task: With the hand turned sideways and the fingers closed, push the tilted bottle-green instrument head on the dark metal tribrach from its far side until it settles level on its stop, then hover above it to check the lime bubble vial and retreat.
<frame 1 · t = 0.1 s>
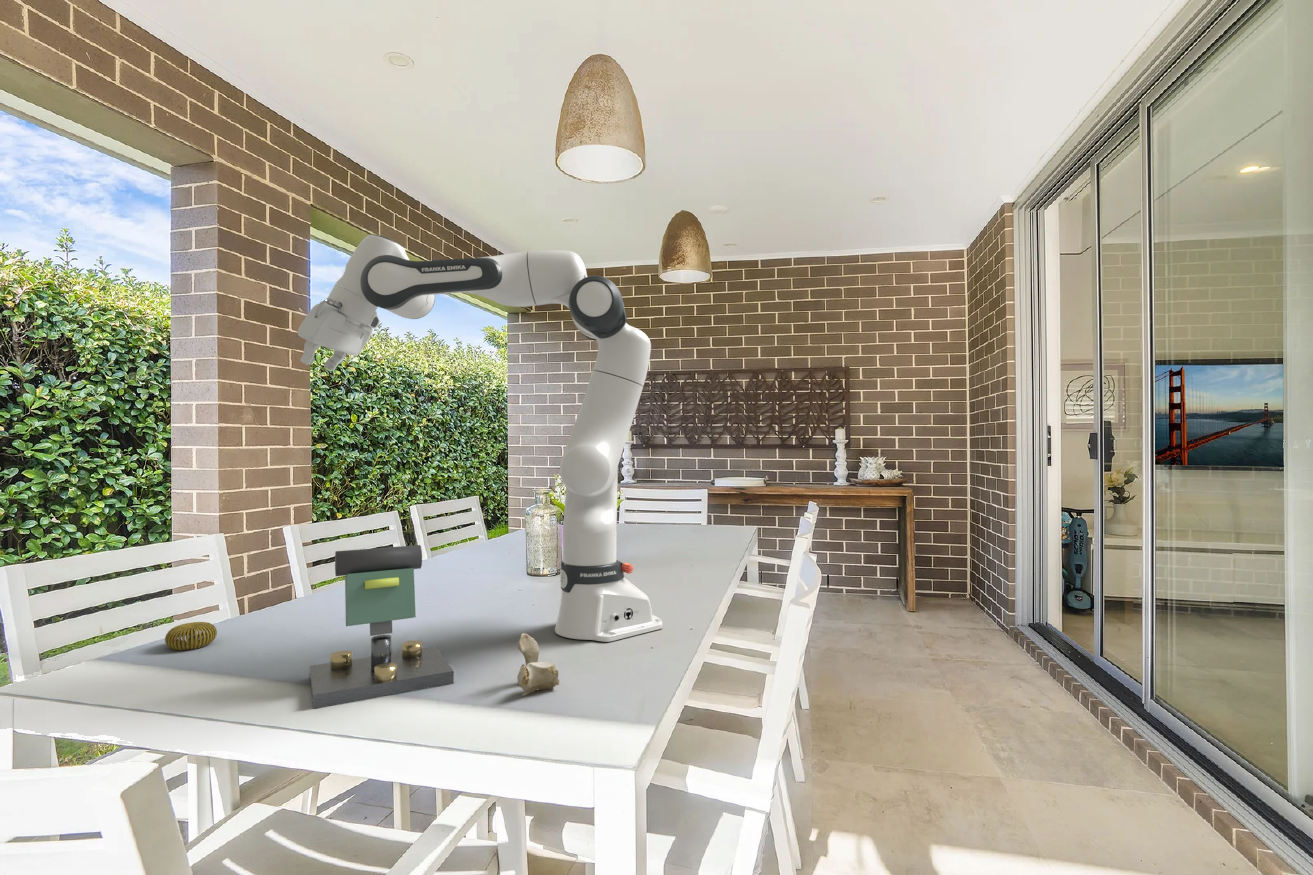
hand: (317, 366, 132), 54 cm above the table, tool tilted 30°, fingers open, 8 cm apart
bone: (538, 690, 101), on the table
instrument head: (380, 590, 106), point 14 cm above the table, hinge at 15.0°
sculpture: (191, 647, 122), on the table
tribrach: (380, 680, 105), on the table
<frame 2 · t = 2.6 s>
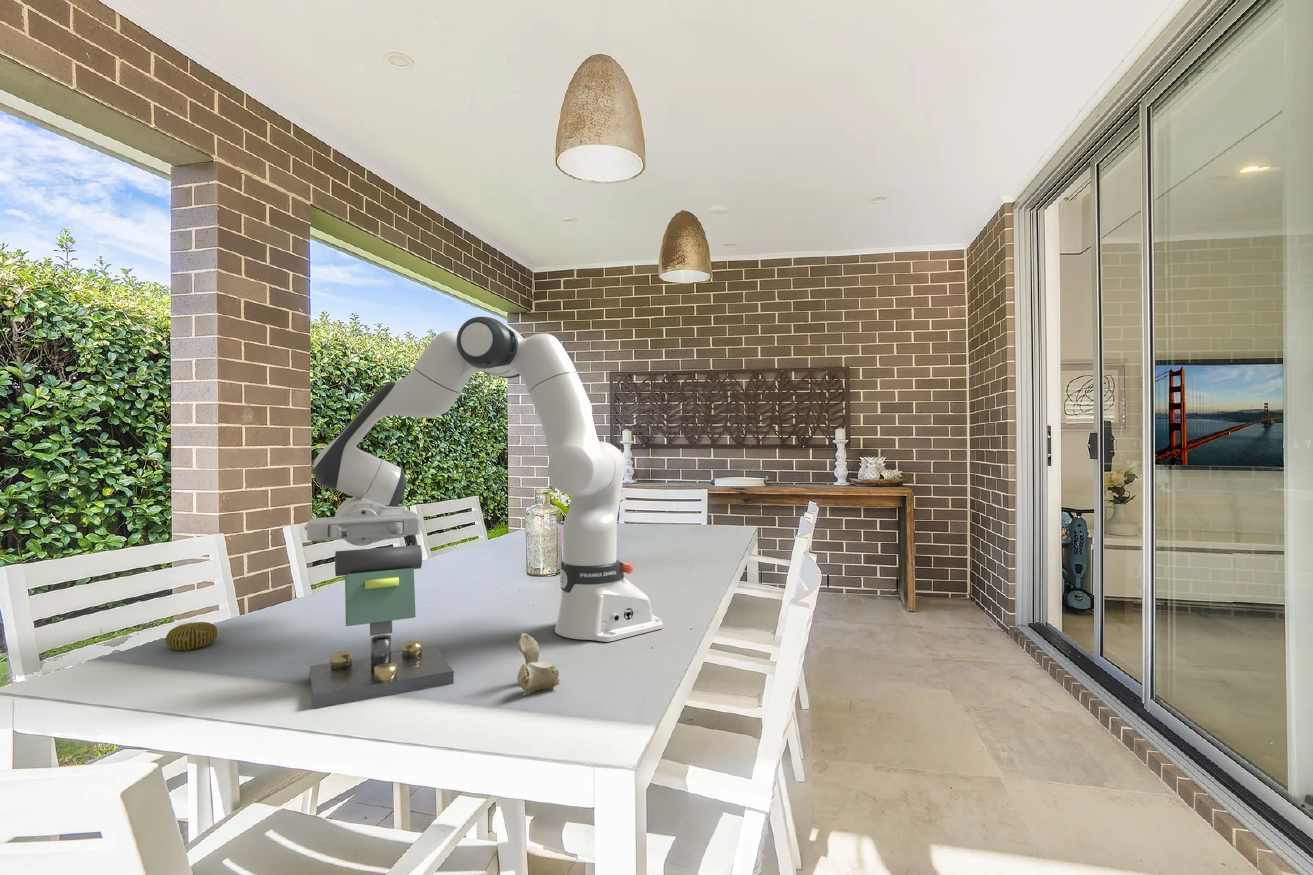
hand: (369, 531, 120), 22 cm above the table, tool horizontal, fingers open, 8 cm apart
nothing on the table moved.
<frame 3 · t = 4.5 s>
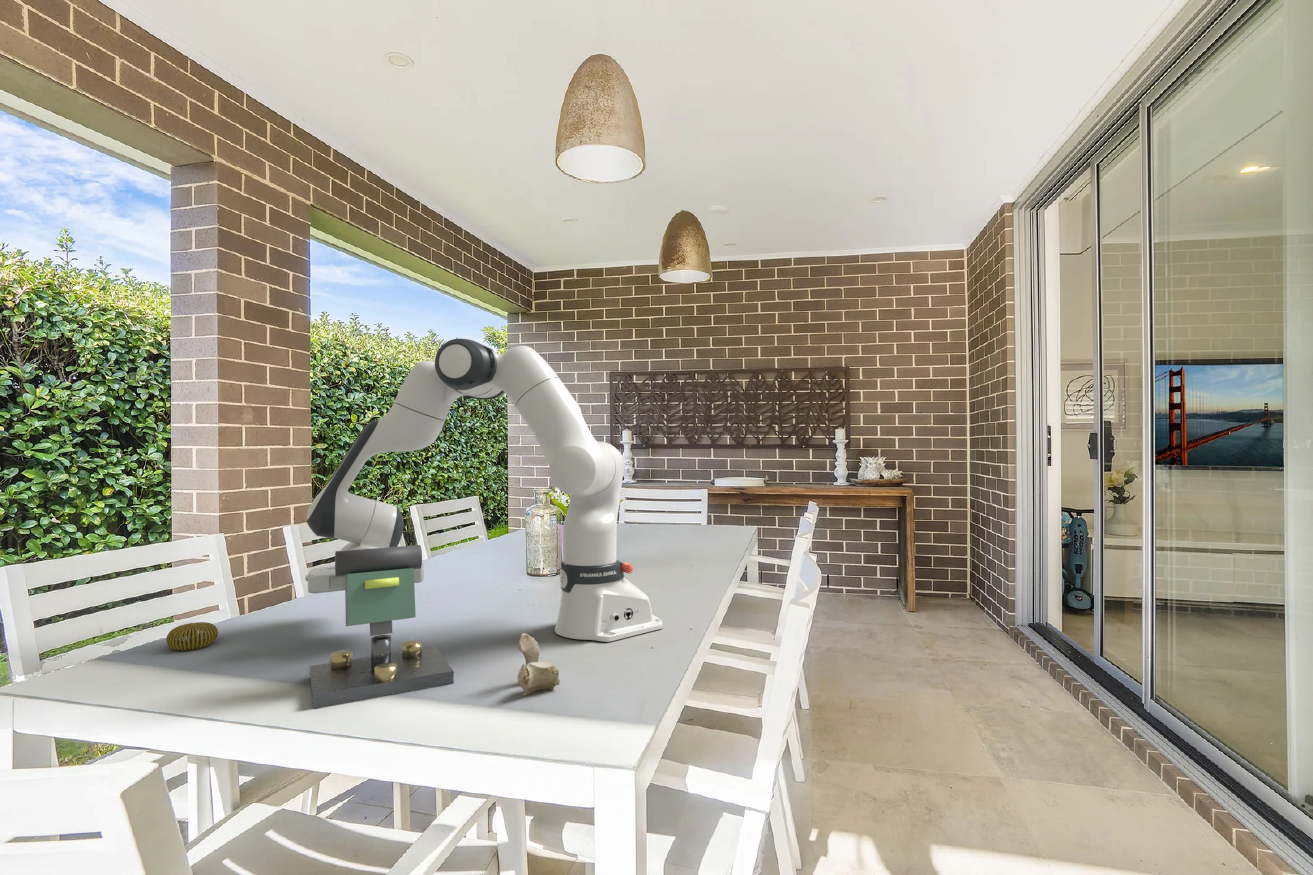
hand: (371, 583, 117), 13 cm above the table, tool horizontal, fingers closed
nothing on the table moved.
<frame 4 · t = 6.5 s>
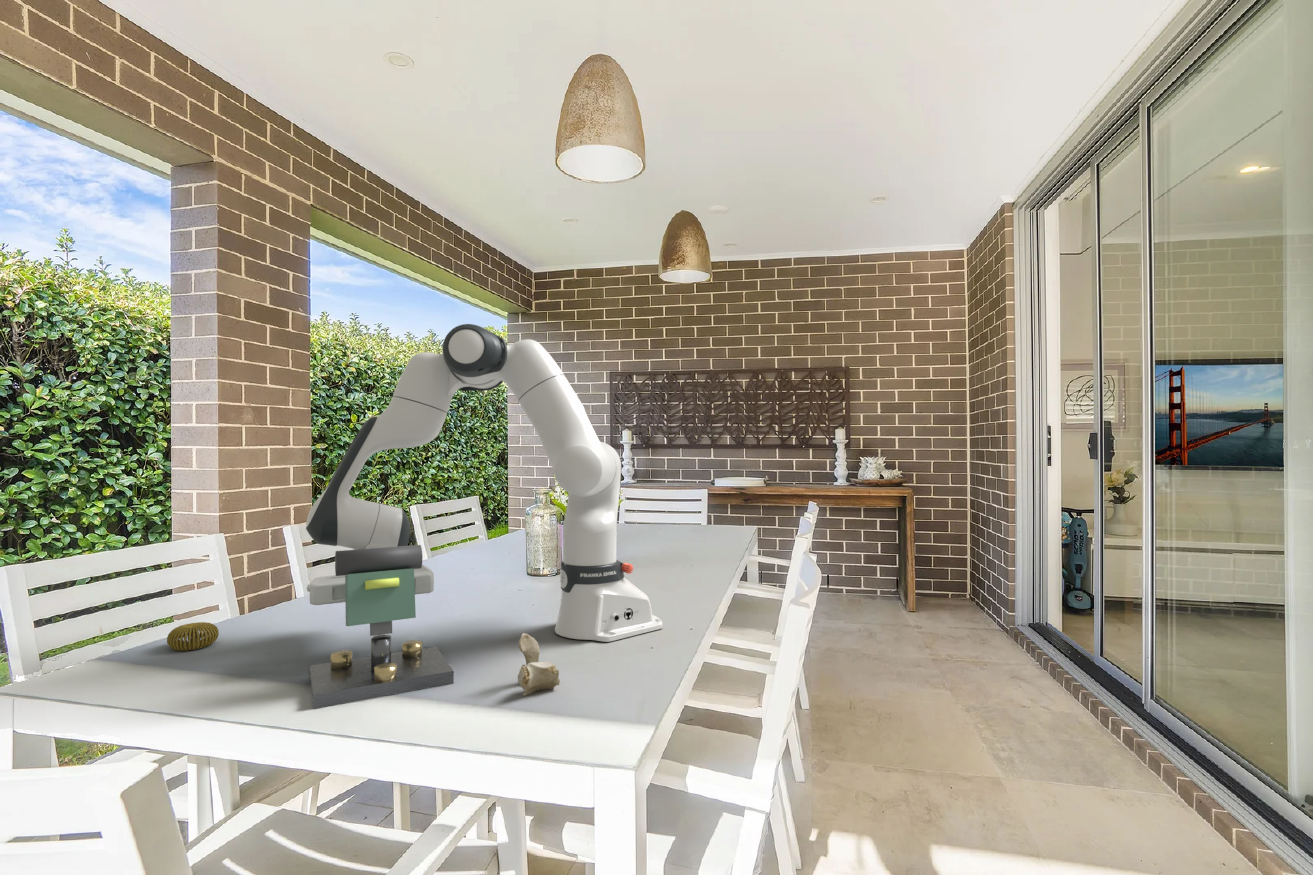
hand: (378, 594, 108), 13 cm above the table, tool horizontal, fingers closed, pressing on instrument head
instrument head: (380, 590, 106), point 14 cm above the table, hinge at 13.6°, touching gripper
everything else where it was.
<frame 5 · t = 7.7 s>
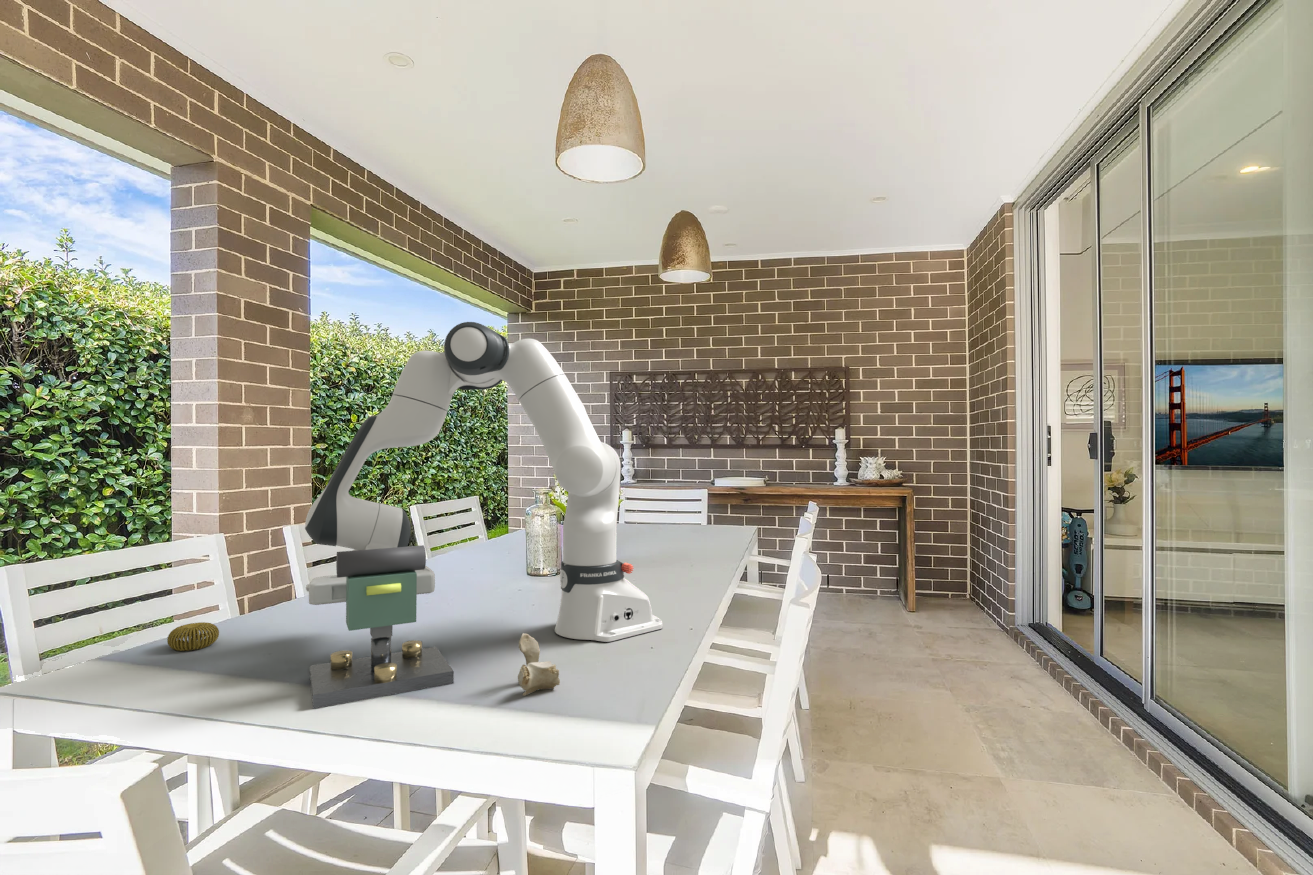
hand: (378, 594, 107), 14 cm above the table, tool horizontal, fingers closed, pressing on instrument head
instrument head: (381, 592, 104), point 14 cm above the table, hinge at -1.1°, touching gripper
everything else where it was.
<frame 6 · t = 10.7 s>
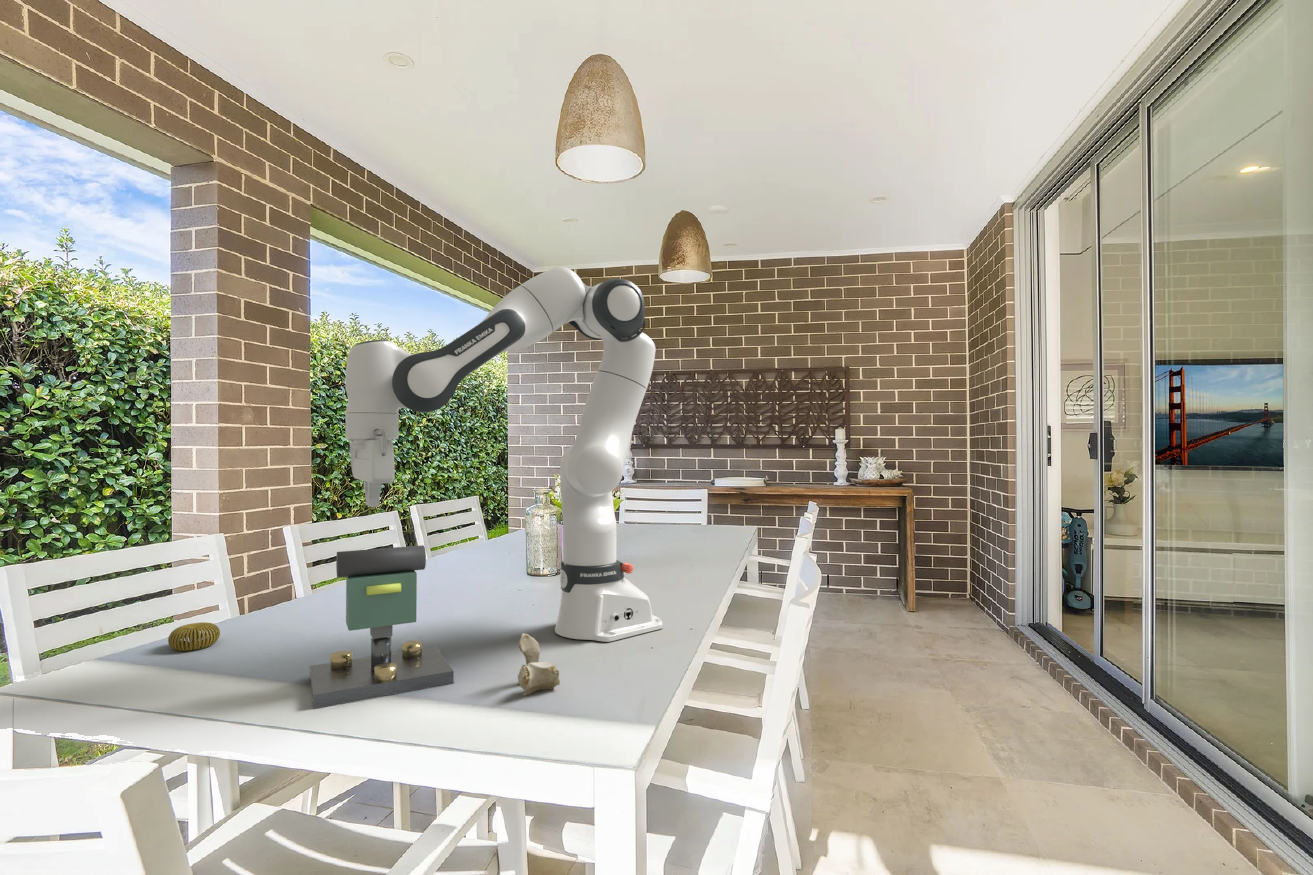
hand: (372, 506, 116), 27 cm above the table, tool pointing down, fingers closed
instrument head: (381, 592, 104), point 14 cm above the table, hinge at -1.1°
everything else where it was.
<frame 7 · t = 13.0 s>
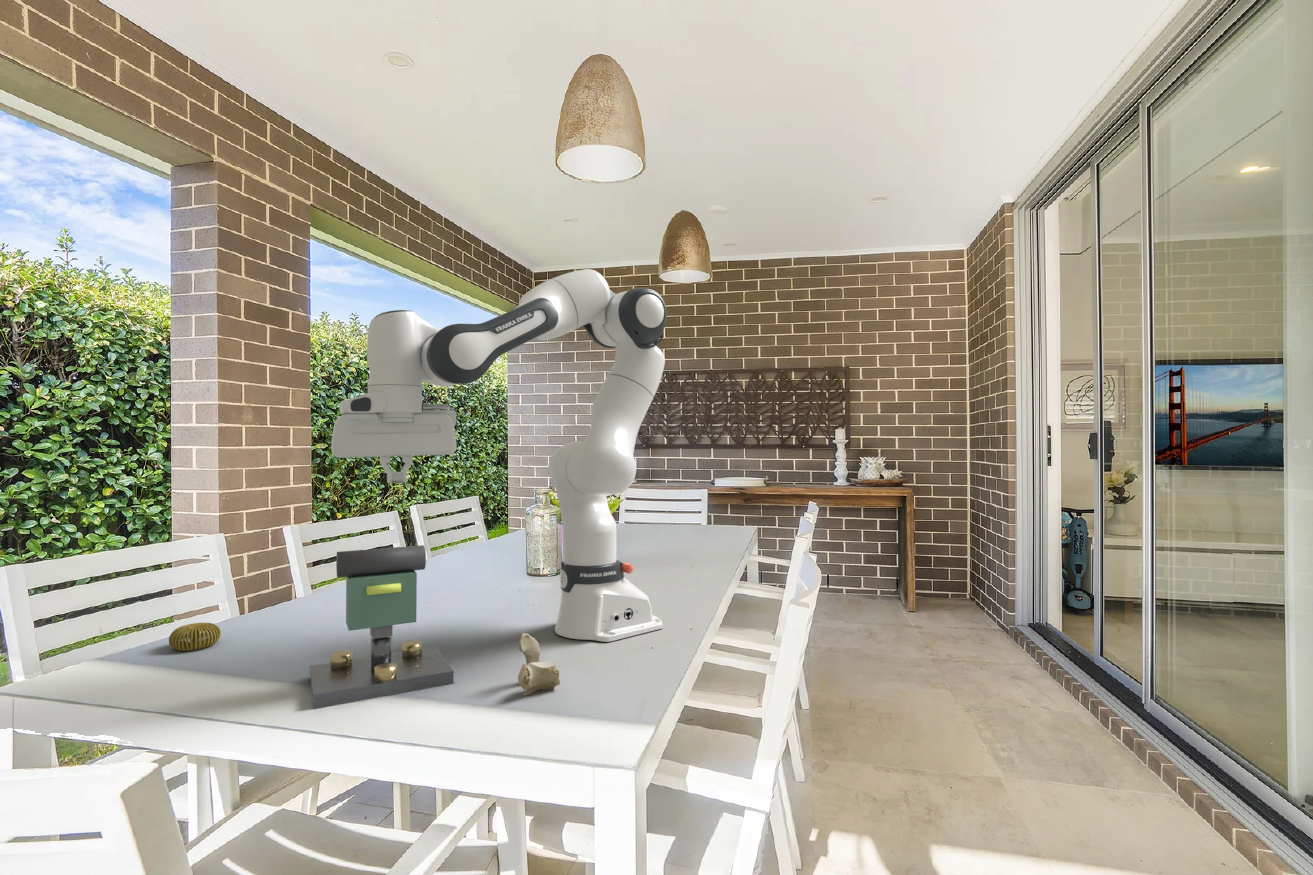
hand: (396, 482, 113), 32 cm above the table, tool pointing down, fingers closed
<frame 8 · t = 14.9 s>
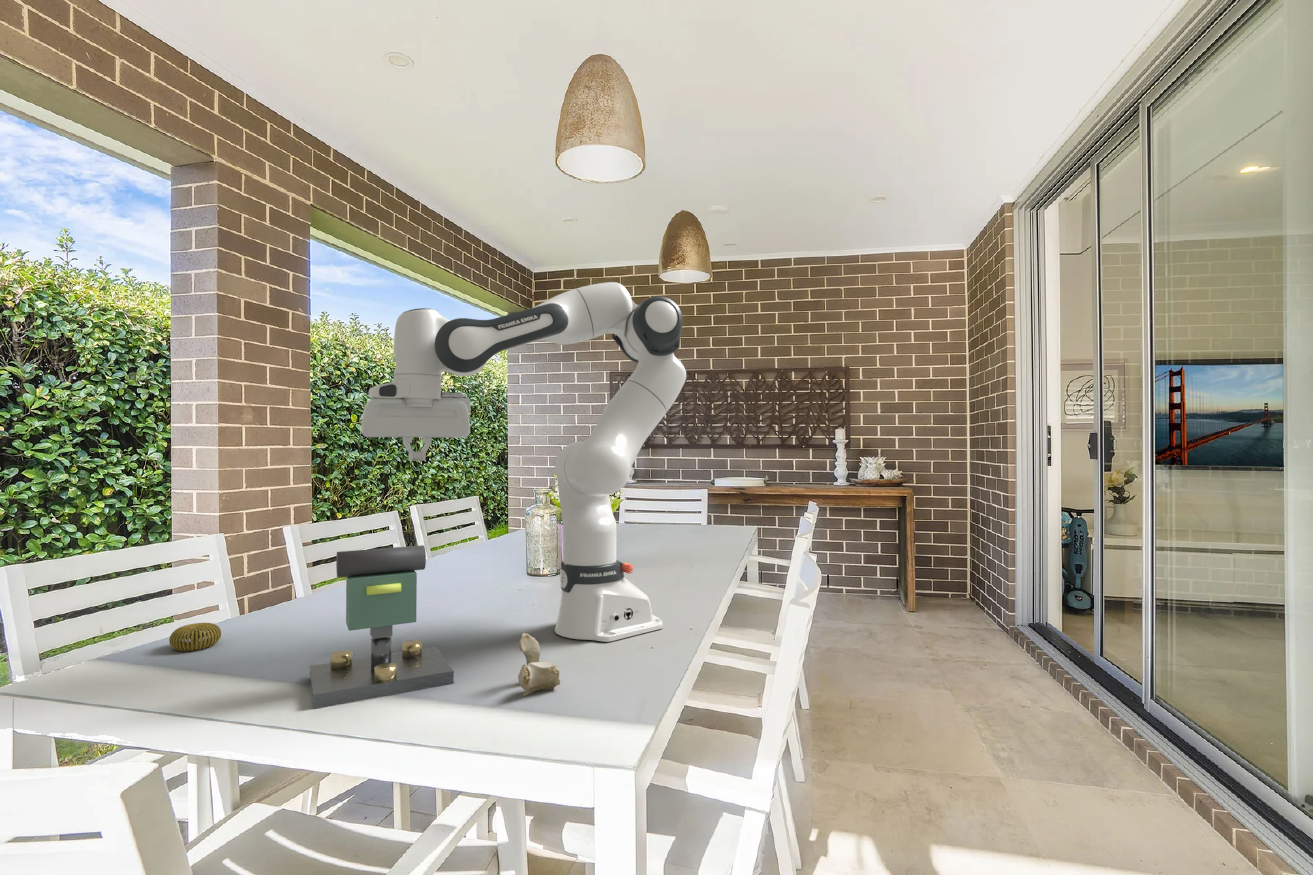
hand: (417, 460, 128), 35 cm above the table, tool pointing down, fingers closed
at the end: instrument head at -1° (first picture: +15°); bone moved 0.3 cm from its start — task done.
